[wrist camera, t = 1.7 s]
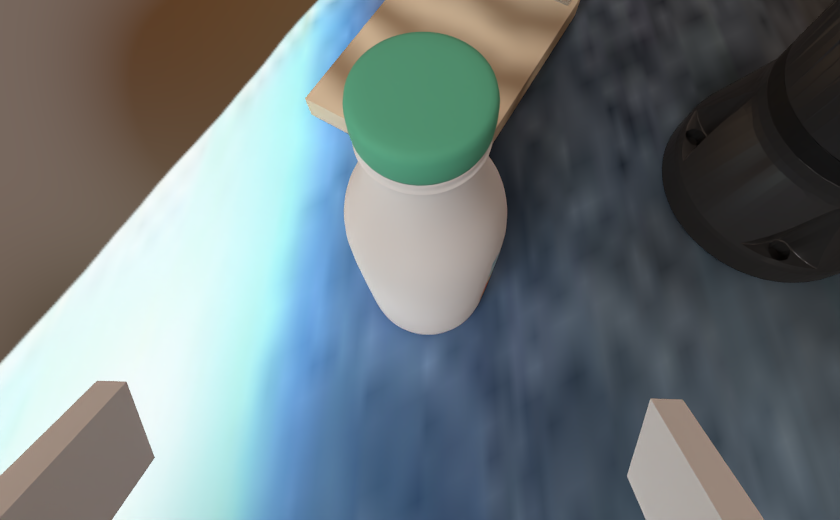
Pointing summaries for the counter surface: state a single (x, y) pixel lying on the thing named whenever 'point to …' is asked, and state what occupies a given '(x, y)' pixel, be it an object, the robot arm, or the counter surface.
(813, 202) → the robot arm
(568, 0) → the bookend
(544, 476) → the counter surface
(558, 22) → the shelf board
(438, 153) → the milk bottle
